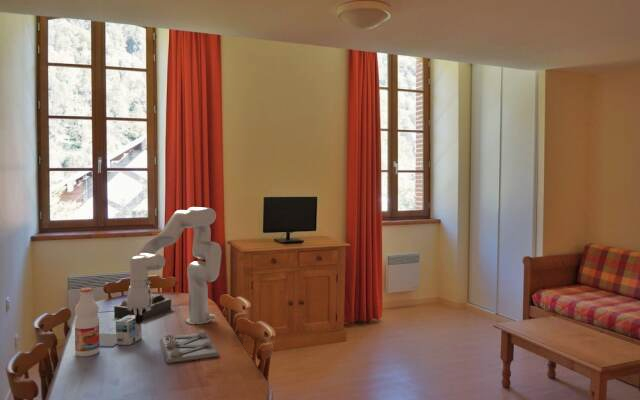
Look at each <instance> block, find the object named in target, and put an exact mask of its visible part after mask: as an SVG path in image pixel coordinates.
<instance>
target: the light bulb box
mask: <svg viewBox="0 0 640 400" xmlns="http://www.w3.org/2000/svg"><path fill="white" fill-rule="evenodd" d="M115 334H116V338H117V345H116V346H118V345H121V346H122V345H123V346H131V345H132V344H134V343H135V342H137V341H139V340H141V339H142V338H143V333H142V323H140V324H136V321H135V315H128V316H126V317H124V318H119V319H117V320H116V321H115Z"/></svg>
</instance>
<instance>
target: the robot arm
mask: <svg viewBox="0 0 640 400" xmlns="http://www.w3.org/2000/svg"><path fill="white" fill-rule="evenodd" d="M169 218H170V219H169V220H168V221H167V223H166V224H165V225H164V227H163V229H162V230H161V232H160V233H158V234H157V235H155V236H154V237H152V238H151V239H150V240H148V241H147V242H146V243H145V244H144V245H143V247H142V248H141V250H140V251H139V252H138V254H137V255H135V256H131V258H130V261H129V262H130V263H129V266H130V267H129V272H130V274H129V283H130V284H129V286H128V290H127V296H126V299H127V307H128V308H127V310H130V311H132V312H133V313H134V315H135V321H136V324H140V323H141V324H142V323H143V322H144V321H143V314H144V313H145V312H146V311H150V310H151V305H152V296H151V294H152V290H151V286H150V285H151V283H152V281H151V280H149V271H159V270H162V269H163V268H164V267H165V265H166V258H165V257H164V256H163V255H161V254H158V253H157V252H158V251H160V250H161V249H163V248H166V247H168V246H171V245H173V244H175V243H176V242H178V240H179V239H180V237H181V235H182V234H183V232H184V230H185V229H186V228H187V229H188V228H189V229H193V242H192V251H191V252H192V256H193V257H194V258H195V259H199V260H205V261H199V260H195V261H192V262H190V263H189V264H188V265H187V268H186V274H187V280H188V317H187V318H186V319H185V322H186V324H189V325H195V324H197V325H204V323H205V324H208V323H210V322H211V320H212V319H213V320H214V319H216V318H217V317H216V314H215V313H213V314H211V313H210V311H209V308H208V307H209V299H208V297H209V296H208V293H209V292H208V289H209V288H208V284H207V282H209V283H210V282H212V283H213V282H214V281H216V280H217V279H218V277H219V275H220V269H221V261H222V248H221V246H220V244H219V243H218V242H215V241H211V235H212V234H211V233H212V232H211V231H212V230H211V226H210V225H212V224H213V223H214V222H215V221H216V218H217V213H216V211H215V210H214V208H210V207H201V206H191V207H188V208H187V209H186V210H185V209H179V210H176V211H175V212H174V213H173V214H172V215H171V217H169ZM139 309H140V312H139Z"/></svg>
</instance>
